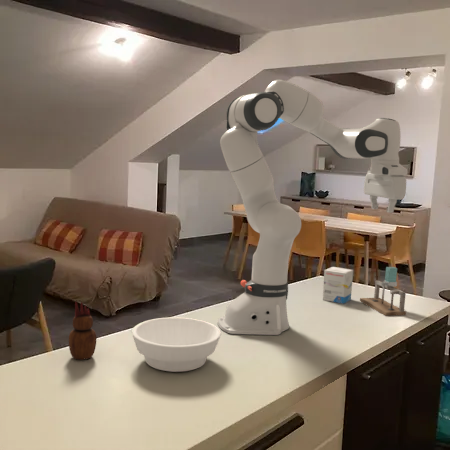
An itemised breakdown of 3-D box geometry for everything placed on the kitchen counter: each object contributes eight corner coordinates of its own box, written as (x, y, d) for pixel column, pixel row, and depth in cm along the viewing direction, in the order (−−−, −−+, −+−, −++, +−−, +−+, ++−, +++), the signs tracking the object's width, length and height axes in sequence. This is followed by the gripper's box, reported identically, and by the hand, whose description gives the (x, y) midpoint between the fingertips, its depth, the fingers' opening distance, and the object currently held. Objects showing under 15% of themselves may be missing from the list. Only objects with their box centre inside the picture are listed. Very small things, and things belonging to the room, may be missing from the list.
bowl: (123, 350, 144) (124, 319, 143) (203, 343, 152) (204, 314, 151) (141, 385, 123) (142, 350, 122) (232, 375, 131) (234, 342, 130)
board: (385, 315, 186) (387, 293, 185) (359, 301, 204) (361, 280, 203) (405, 315, 188) (407, 292, 187) (378, 300, 206) (380, 280, 205)
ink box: (351, 299, 206) (354, 269, 204) (343, 304, 199) (346, 273, 197) (330, 295, 210) (332, 265, 209) (321, 299, 203) (324, 269, 202)
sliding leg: (382, 304, 194) (386, 268, 192) (378, 302, 197) (381, 266, 195) (395, 304, 196) (398, 268, 194) (390, 302, 198) (393, 266, 197)
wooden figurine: (68, 362, 134) (68, 304, 132) (68, 354, 140) (69, 297, 138) (96, 361, 136) (97, 303, 134) (95, 352, 141) (96, 296, 139)
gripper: (360, 167, 186) (358, 207, 188) (392, 170, 167) (390, 214, 169) (376, 167, 188) (374, 207, 190) (410, 170, 168) (408, 214, 170)
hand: (382, 210), depth 179 cm, fingers open, 8 cm apart
